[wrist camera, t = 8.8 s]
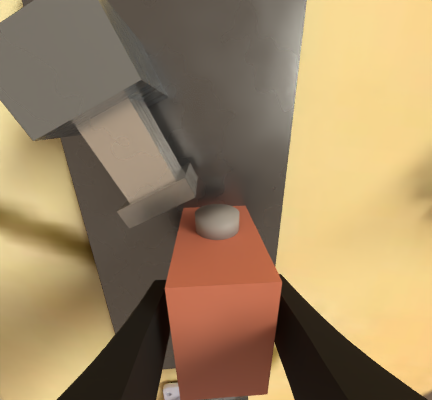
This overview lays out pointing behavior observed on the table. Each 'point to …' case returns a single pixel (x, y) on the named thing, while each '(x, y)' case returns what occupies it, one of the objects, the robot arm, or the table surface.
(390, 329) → the table surface
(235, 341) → the block
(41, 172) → the table surface
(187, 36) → the stand
